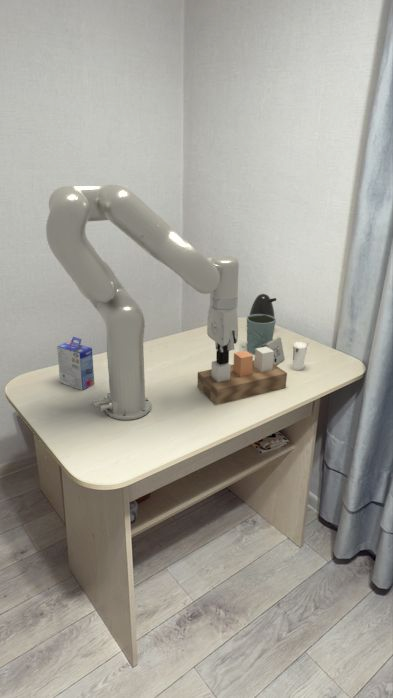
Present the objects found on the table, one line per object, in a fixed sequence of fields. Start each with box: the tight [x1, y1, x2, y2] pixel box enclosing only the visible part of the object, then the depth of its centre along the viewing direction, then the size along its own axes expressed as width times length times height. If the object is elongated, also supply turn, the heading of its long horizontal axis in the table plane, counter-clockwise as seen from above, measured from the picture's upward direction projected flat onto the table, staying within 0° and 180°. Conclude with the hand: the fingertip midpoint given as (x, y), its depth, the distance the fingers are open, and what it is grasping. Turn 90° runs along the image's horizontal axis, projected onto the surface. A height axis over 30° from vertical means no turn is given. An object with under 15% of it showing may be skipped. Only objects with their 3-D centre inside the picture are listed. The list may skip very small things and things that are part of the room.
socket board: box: [197, 359, 288, 406], centre depth 141 cm, size 24×12×5 cm, turn 117°
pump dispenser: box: [249, 293, 277, 319], centre depth 183 cm, size 10×10×15 cm
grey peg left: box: [211, 360, 232, 382], centre depth 137 cm, size 4×4×6 cm
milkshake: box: [292, 341, 309, 371], centre depth 153 cm, size 4×5×10 cm
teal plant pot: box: [246, 314, 277, 355], centre depth 167 cm, size 10×10×12 cm
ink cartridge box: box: [56, 336, 95, 391], centre depth 141 cm, size 10×6×14 cm, turn 58°
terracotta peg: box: [233, 350, 254, 377], centre depth 139 cm, size 4×4×6 cm
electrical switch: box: [262, 336, 285, 366], centre depth 158 cm, size 8×5×8 cm, turn 141°
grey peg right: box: [254, 347, 274, 372], centre depth 142 cm, size 4×4×6 cm
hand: (222, 362), depth 136 cm, fingers closed
